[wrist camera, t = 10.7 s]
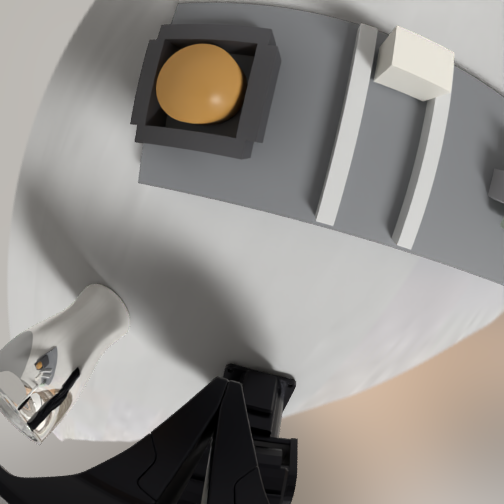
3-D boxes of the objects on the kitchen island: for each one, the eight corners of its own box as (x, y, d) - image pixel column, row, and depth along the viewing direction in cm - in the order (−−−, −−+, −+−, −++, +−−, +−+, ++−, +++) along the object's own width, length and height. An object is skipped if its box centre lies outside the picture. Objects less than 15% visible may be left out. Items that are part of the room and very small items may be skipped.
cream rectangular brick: (423, 101, 12) (450, 92, 9) (373, 81, 13) (391, 65, 9) (427, 67, 11) (454, 52, 8) (379, 47, 12) (396, 25, 8)
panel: (497, 277, 17) (525, 302, 13) (152, 179, 19) (116, 189, 15) (535, 135, 12) (569, 139, 8) (188, 14, 14) (161, -12, 10)
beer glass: (88, 330, 26) (4, 418, 13) (74, 273, 24) (-36, 357, 10) (140, 346, 25) (57, 460, 12) (129, 285, 23) (10, 401, 9)
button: (238, 131, 15) (227, 128, 13) (168, 121, 15) (149, 118, 13) (255, 60, 13) (246, 46, 11) (183, 54, 13) (166, 43, 11)
